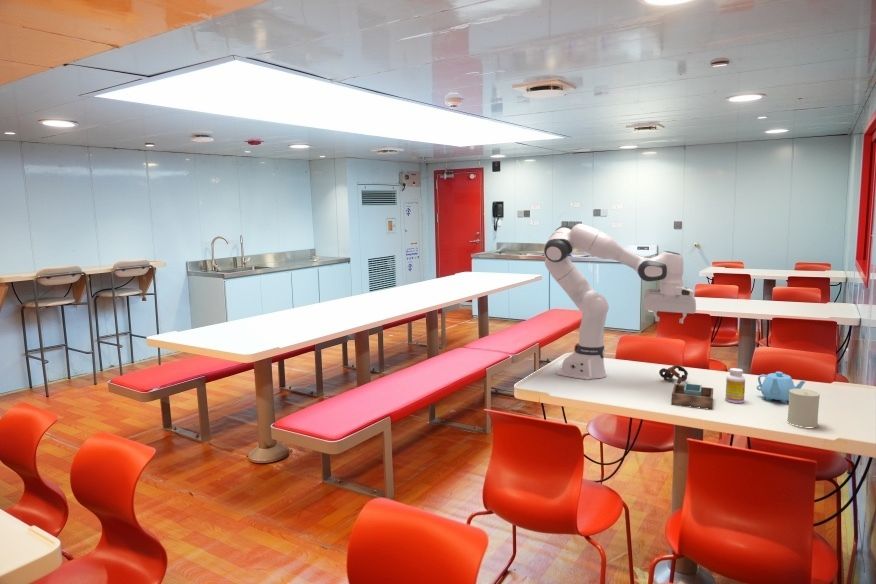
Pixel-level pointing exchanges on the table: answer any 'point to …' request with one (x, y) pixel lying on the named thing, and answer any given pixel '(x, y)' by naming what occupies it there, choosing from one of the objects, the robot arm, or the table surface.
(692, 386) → the tote
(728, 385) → the supplement bottle
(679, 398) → the crate
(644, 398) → the table surface
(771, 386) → the teapot
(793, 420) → the can
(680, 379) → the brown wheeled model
